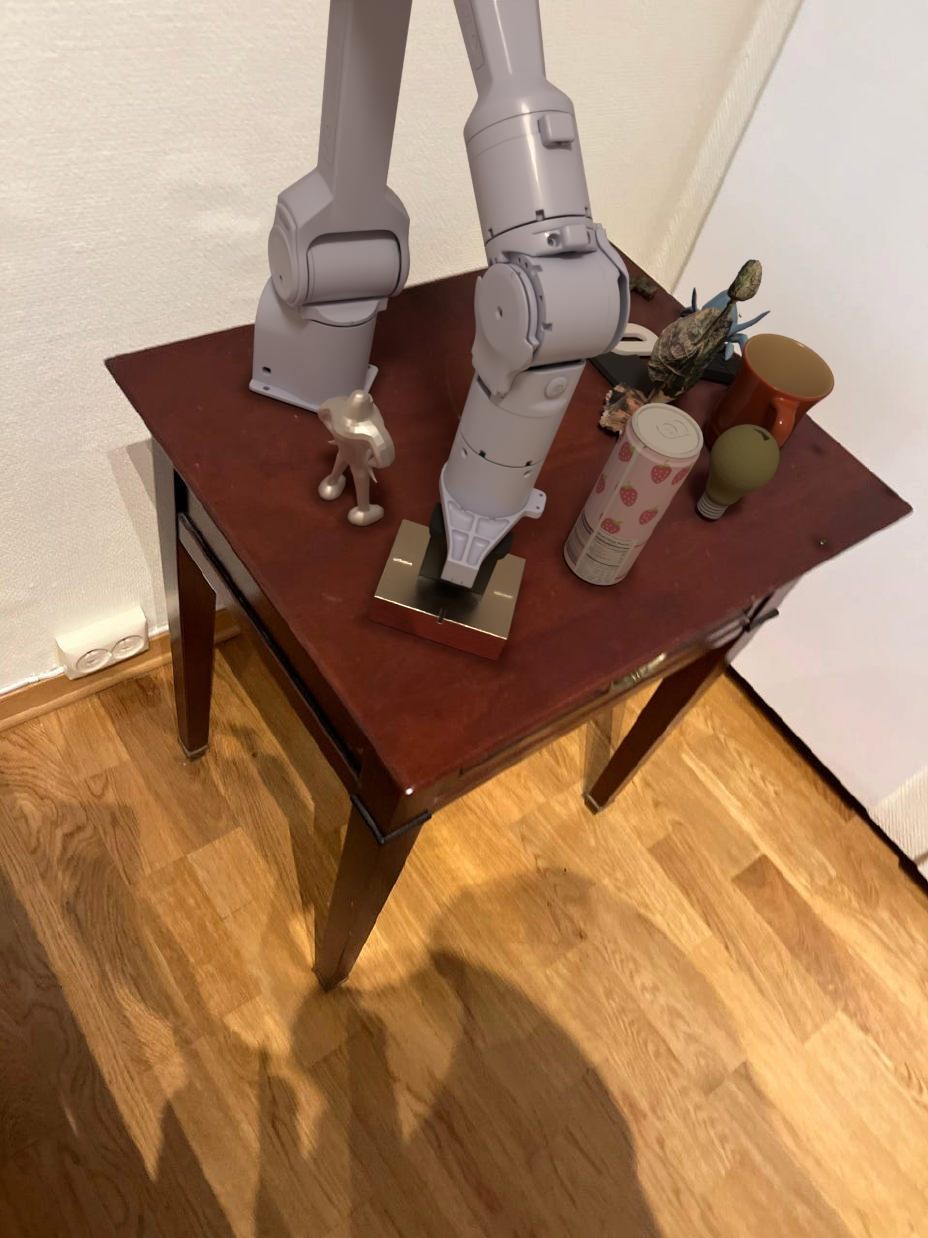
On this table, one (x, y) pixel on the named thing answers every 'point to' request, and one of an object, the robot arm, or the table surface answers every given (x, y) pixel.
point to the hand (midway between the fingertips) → (455, 570)
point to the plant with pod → (682, 352)
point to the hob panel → (445, 599)
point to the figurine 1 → (356, 450)
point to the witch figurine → (641, 285)
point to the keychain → (625, 371)
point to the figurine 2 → (723, 363)
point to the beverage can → (633, 492)
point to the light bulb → (738, 467)
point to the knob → (431, 569)
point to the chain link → (636, 346)
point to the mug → (771, 388)
